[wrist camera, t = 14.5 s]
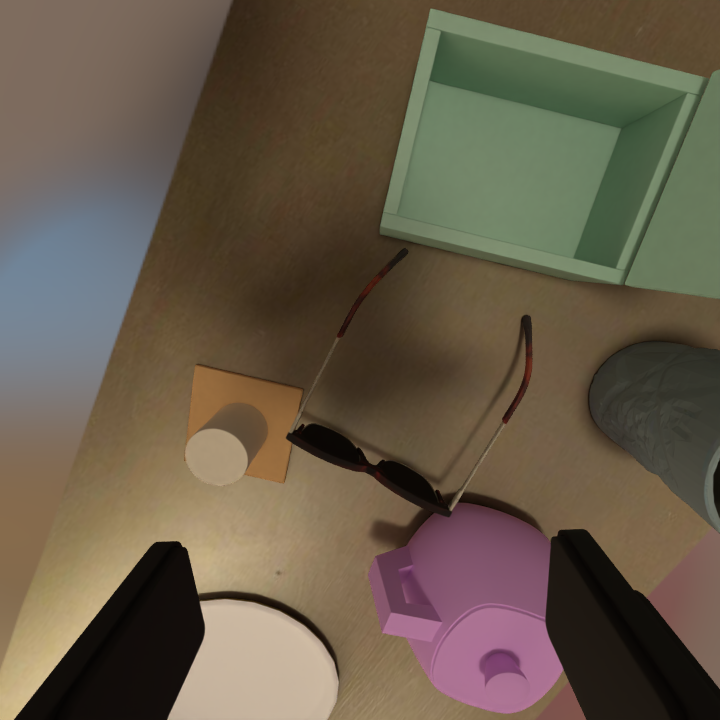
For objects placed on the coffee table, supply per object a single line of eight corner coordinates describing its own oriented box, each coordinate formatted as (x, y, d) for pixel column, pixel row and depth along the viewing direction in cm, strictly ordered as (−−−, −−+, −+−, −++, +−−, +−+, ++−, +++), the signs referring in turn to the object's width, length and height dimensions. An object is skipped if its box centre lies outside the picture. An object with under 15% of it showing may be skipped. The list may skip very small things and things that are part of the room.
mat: (186, 458, 33) (183, 460, 32) (197, 363, 30) (194, 365, 30) (284, 481, 33) (283, 483, 32) (303, 388, 30) (302, 390, 30)
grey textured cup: (564, 440, 31) (679, 549, 19) (597, 320, 28) (753, 361, 16) (688, 454, 30) (880, 572, 19) (732, 334, 28) (987, 386, 16)
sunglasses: (295, 416, 31) (282, 441, 26) (386, 240, 28) (390, 230, 23) (437, 485, 32) (450, 522, 27) (539, 323, 29) (573, 331, 24)
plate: (185, 557, 35) (179, 568, 34) (375, 644, 37) (375, 657, 36) (119, 692, 41) (111, 705, 39) (288, 762, 42) (286, 777, 41)
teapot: (537, 643, 36) (604, 804, 25) (347, 577, 35) (334, 716, 24) (608, 538, 33) (721, 672, 22) (400, 462, 32) (412, 564, 21)
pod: (211, 445, 32) (181, 478, 27) (218, 396, 31) (188, 422, 26) (263, 457, 32) (242, 492, 27) (272, 409, 31) (252, 437, 26)
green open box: (379, 234, 27) (379, 226, 21) (417, 69, 24) (430, 7, 18) (570, 280, 27) (623, 285, 21) (630, 122, 24) (710, 78, 19)
